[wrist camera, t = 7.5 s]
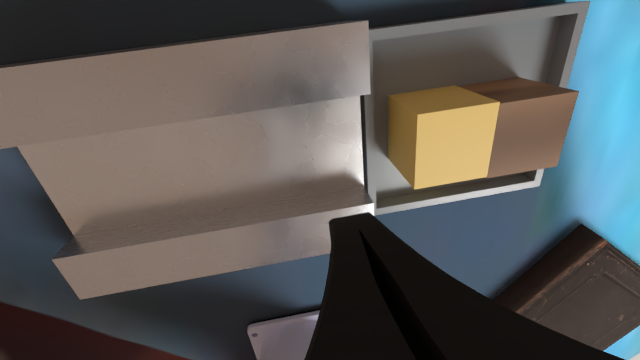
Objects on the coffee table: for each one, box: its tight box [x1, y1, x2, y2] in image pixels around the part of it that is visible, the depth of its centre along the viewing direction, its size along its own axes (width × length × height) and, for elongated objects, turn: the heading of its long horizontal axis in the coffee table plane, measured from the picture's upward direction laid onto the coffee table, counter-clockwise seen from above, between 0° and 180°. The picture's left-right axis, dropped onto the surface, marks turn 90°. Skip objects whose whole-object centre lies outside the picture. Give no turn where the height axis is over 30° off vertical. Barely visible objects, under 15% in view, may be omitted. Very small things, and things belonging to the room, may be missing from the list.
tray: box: [360, 1, 590, 215], centre depth 18 cm, size 11×12×1 cm
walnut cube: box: [458, 77, 579, 178], centre depth 17 cm, size 4×4×4 cm
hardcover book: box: [494, 224, 640, 351], centre depth 31 cm, size 16×23×2 cm
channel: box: [0, 20, 374, 300], centre depth 16 cm, size 12×17×4 cm
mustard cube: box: [388, 85, 500, 190], centre depth 17 cm, size 4×4×4 cm
